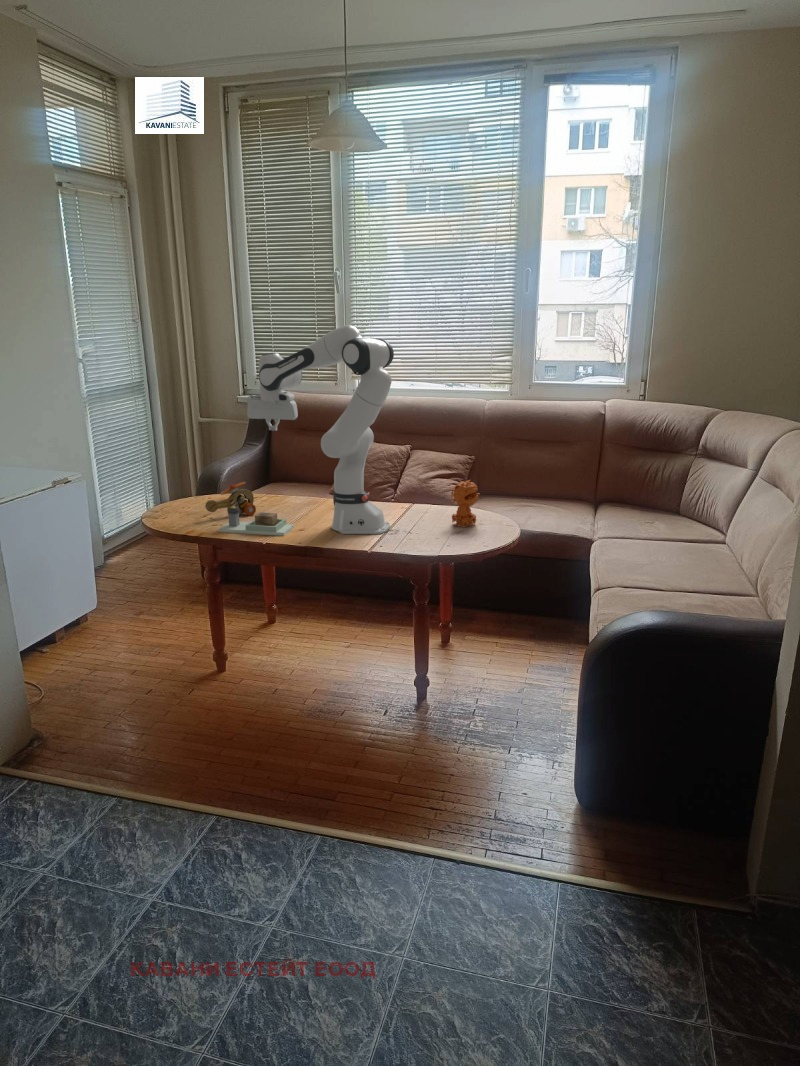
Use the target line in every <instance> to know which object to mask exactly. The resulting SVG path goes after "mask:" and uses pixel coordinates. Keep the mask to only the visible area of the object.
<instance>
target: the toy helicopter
mask: <svg viewBox="0 0 800 1066" xmlns="http://www.w3.org/2000/svg"><path fill="white" fill-rule="evenodd" d="M245 484H246V481H242V482H239V483H237V484H231V485H230V486H229V488H226V489H225V490H222V492H220V495H225V494H228V493H229V492H230V495H229V496H228V498H226V499H225V498H224V499H221V500H214V499H209V500H207V501H206V503H205V509H206V511H207V512H209V513H214V512H216V511H218V510H221V509H226V508H228V507H232V506H235V507H239V515H240V514H244V515H247V516H249V517H251V516H253V515H255V513H256V511H257V507H256V505H255V504H254V501H255V499H254V493H253V491H251V490H249V489H246V488H241V489H239V487H241V486H243V485H245Z"/></svg>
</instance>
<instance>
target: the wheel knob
mask: <svg viewBox="0 0 800 1066" xmlns="http://www.w3.org/2000/svg"><path fill="white" fill-rule="evenodd" d="M226 511H227V514H228V513H230V514H234V513H239V507H235V506H232V507H228V508H227V510H226Z"/></svg>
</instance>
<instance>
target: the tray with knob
mask: <svg viewBox="0 0 800 1066" xmlns="http://www.w3.org/2000/svg"><path fill="white" fill-rule="evenodd" d="M227 514H228V515H227V516H228V522H227V523H225V524H224V525H222V526H220V527H219V528H218V532H219V533H230V534H247V535H262V536H263V535H264V536H265V535H266V536H280V537H284V536H285V535H287V534H288V533H289V532H291V531H292V530H293V529H294V528H295V525H294V524H292V523H289V524H288V523H287V518H277V522H278V524H277V525H275V526H262V525H255V518H254V519H253V520H251V521H240V514H239V513H234V514H230V513H228V512H227Z"/></svg>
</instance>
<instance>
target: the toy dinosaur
mask: <svg viewBox="0 0 800 1066" xmlns="http://www.w3.org/2000/svg"><path fill="white" fill-rule="evenodd" d="M471 480H472V479H469V480H468V479H467V480H465V481H464V480H463V481H460V482H459V483H458V484H456V485H455V486H453V488H452V490H451V494H450V495H451V500H452V502H453V503H455V502H456V505H457V506H458V507H457V510H456V513H453V514H451V520H452V521H451V523H452V524H453V523H454V522H456V525H457V526H458V525H460V526H459V527H461V526H468V527H470V526H469V525H471V524H472V525H473V524H474V525H476V521H477V515H476V514H475V513H473V512H472V509H471V506H474V504H476V503H477V501H478V499H479V496H480V495H481V493H479V492H477V491H478V486H477V484H476V483H475V482H471ZM472 525H471V526H472Z"/></svg>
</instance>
